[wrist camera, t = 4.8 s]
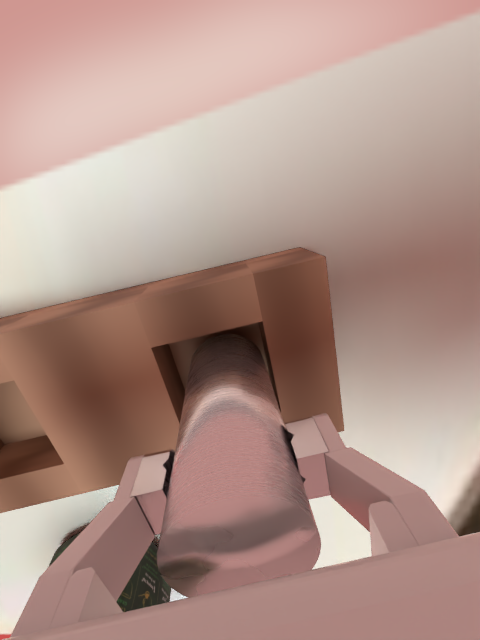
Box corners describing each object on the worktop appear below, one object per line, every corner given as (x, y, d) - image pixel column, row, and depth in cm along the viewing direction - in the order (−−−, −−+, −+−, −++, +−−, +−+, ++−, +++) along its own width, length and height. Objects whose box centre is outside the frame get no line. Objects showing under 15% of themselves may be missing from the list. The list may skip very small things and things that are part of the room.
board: (299, 247, 16) (328, 257, 12) (319, 389, 20) (346, 434, 16) (-109, 343, 16) (-216, 386, 12) (-15, 469, 20) (-73, 534, 16)
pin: (256, 326, 15) (309, 481, 6) (269, 389, 16) (329, 584, 8) (180, 343, 15) (132, 522, 6) (201, 405, 16) (184, 617, 8)
